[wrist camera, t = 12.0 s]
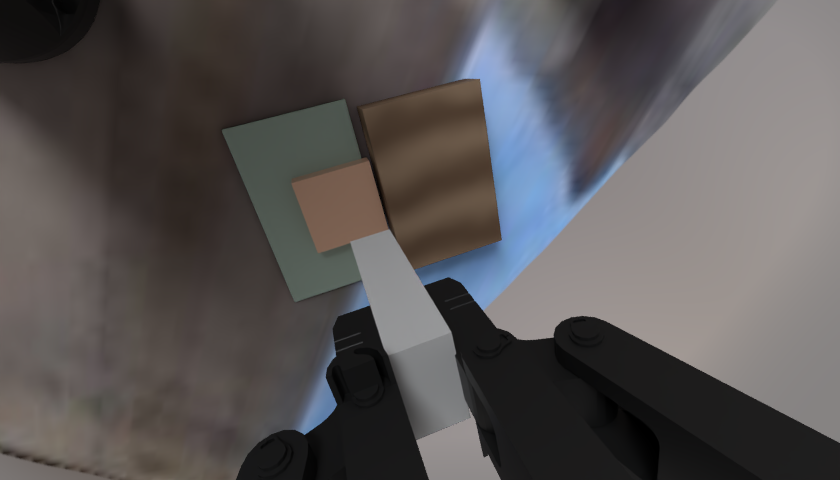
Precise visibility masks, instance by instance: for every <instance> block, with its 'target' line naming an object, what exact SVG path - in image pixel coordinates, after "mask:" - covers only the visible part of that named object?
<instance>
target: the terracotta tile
mask: <svg viewBox="0 0 840 480" xmlns="http://www.w3.org/2000/svg"><path fill="white" fill-rule="evenodd" d="M291 184H292V187H293V189H294V192H295V194H296V197H297V200H298V202H299V205H300V208H301V210H302V213H303V215H304V218H305V221H306V223H307V226H308V229H309V231H310V234H311V236H312V239H313V242H314V244H315V247H316V250H317V252H318V253H321V252H324V251H327V250H330V249H333V248H336V247H339V246H343V245H346V244H349V243H350V241H354V240H357V239H360V238H363V237H366V236H369V235H373V234H376V233H379V232H382V231H385V230H389V229H388V226H387V222H386V219H385V215H384V212H383V208H382V205H381V201H380V197H379V194H378V190H377V187H376V183H375V180H374V176H373V173H372V169H371V166H370V162H369V160H368V159H367V158H366V157H365V158H362V159H358V160H355V161H351V162H348V163H344V164H341V165H337V166H334V167H331V168H327V169H324V170H320V171H317V172H313V173H310V174H306V175H303V176H299V177H296V178H292V180H291Z"/></svg>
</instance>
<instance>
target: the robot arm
mask: <svg viewBox="0 0 840 480" xmlns="http://www.w3.org/2000/svg"><path fill="white" fill-rule="evenodd" d="M99 1H100V0H0V62H3V63H29V62H36V61H42V60H46V59H49V58H52V57H55V56H57V55H59V54H62V53H63V52H65V51H67V50H69V49H70V48H71V47H73V46H74V45H75V44H76V43H78V42H79V41H80V40H81V39H82V38H83V37H84V35H85V34H86V33H87V31H88V30H89V28H90V27H91V25H92V23H93V21H94V19H95V16H96V13H97V10H98V6H99ZM350 243H351V246H352V249H353V253H354V256H355V259H356V262H357V265H358V268H359V272H360V275H361V278H362V281H363V284H364V287H365V291H366V294H367V297H368V300H369V303H370V306H367V307H365V308H362V309H359V310H356V311H353V312H350V313H347V314H344V315H341V316H338V318H337V320H336V322H335V325H334V327H333V336H334V342H335V350H336V357H335V358H334V359H333V360H332V362H331V363H330V365H329V366H328V368H327V373H326V379H327V382H328V384H329V386H330V389H331V391H332V393H333V396H334V398H335V400H336V403H337V406H336V408H335V410H334V411H333V412H332V413H331V415H330V416H329V417H328V418H327V419H326V420H325V421H323V422H322V423H321V424H320V425H318V426H317V427H315V428H314V429H313V430H311V431H310V432H308V433H307V434H305V435H304V434H302V433H300V432H298V431H296V430H283V431H280V432H277V433H274V434H271V435H270V436H268V437H267V438H265V439H264V440H262V441H261V442H259V443H258V444H257V445H256V446H255V447H254V448H253V449H252V450H251V451H250V453H249V454H248V455H247V457H246V459H245V461H244V462H243V464H242V466H241V468H240V471H239V473H238V476H237V479H236V480H429V479H428V476H427V473H426V470H425V467H424V463H423V461H422V457H421V455H420V451H419V448H418V445H417V442H416V440H418V439H420V438H422V437H425V436H427V435H430V434H432V433H435V432H437V431H439V430H442V429H444V428H447V427H449V426H452V425H454V424H457V423H459V422H461V421H464V420H466V419H469V418H470V413H469V408H470V410H471V412H472V414H473V416H474V418H475V420H476V425H477V429H478V434H479V439H480V443H481V448H482V451H483V456H484V457H486V456H488V455H489V456H490V459H491V461H492V463H493V465H494V467H495V469H496V471H497V473H498V475H499V477H500V479H501V480H840V443H838V442H837V441H835V440H833V439H831V438H829V437H827V436H825V435H823V434H821V433H819V432H817V431H816V430H814V429H812V428H810V427H808V426H806V425H804V424H802V423H800V422H798V421H796V420H794V419H792V418H790V417H789V416H787V415H785V414H783V413H781V412H779V411H777V410H775V409H773V408H771V407H769V406H768V405H766V404H764V403H762V402H760V401H758V400H756V399H754V398H752V397H750V396H748V395H746V394H744V393H743V392H741V391H738V390H737V389H735V388H733V387H731V386H729V385H727V384H725V383H723V382H721V381H719V380H717V379H716V378H713V377H712V376H710V375H708V374H706V373H704V372H702V371H700V370H698V369H696V368H694V367H693V366H691V365H689V364H686V363H685V362H683V361H681V360H679V359H677V358H675V357H673V356H671V355H669V354H667V353H666V352H664V351H662V350H660V349H658V348H656V347H654V346H652V345H650V344H648V343H646V342H645V341H642V340H641V339H639V338H637V337H635V336H633V335H631V334H629V333H627V332H625V331H623V330H621V329H620V328H618V327H616V326H614V325H612V324H610V323H608V322H606V321H603V320H600V319H598V318H595V317H587V316H580V317H571V318H569V319H566V320H564V321H562V322H561V323H560V324H559V325H558V326H557V327H556V328H555V332H554V338H547V339H538V340H519V339H516V337H514V336H513V335H512V334H511V333H509V332H507V331H504V330H501V329H497V328H496V327H495V325H494V324H493V323H492V322H491V320H490V319H489V318H488V317H487V315H486V314H485V313H484V311H483V310H482V309H481V308H480V306H479V305H478V304H477V303H476V301H474V299H473V298H472V296H471V295H470V294H469V293H468V291H467V290H466V289H465V287H464V286H463V285H462V284H461V283H460V282H458V281H456V280H453V279H451V278H449V277H448V278H445V279H442V280H439V281H436V282H433V283H431V284H428V285H425V286H423V284H422V282H421V281H420V279H419V277H418V276H417V274H416V272H415V271H414V269H413V267H412V266H411V264H410V262H409V261H408V259H407V257H406V256H405V254H404V252H403V251H402V249H401V247H400V246H399V244H398V242H397V241H396V239H395V238H394V236H393V234H392V233H391V231H390V229H389V230H385V231H382V232H379V233H376V234H373V235H369V236H366V237H363V238H360V239H357V240H354V241H350ZM468 407H469V408H468Z"/></svg>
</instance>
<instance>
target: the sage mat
mask: <svg viewBox="0 0 840 480" xmlns="http://www.w3.org/2000/svg"><path fill="white" fill-rule="evenodd" d="M222 133H223V135H224V137H225V140H226V142H227V144H228V147H229V149H230V151H231V154H232V156H233V159H234V161H235V163H236V166H237V168H238V170H239V173H240V175H241V177H242V180H243V182H244V184H245V187H246V189H247V191H248V194H249V196H250V198H251V201H252V203H253V206H254V208H255V210H256V213H257V215H258V217H259V220H260V222H261V224H262V227H263V229H264V231H265V234H266V236H267V238H268V241H269V243H270V245H271V248H272V250H273V252H274V255H275V257H276V260H277V262H278V264H279V267H280V269H281V271H282V274H283V276H284V278H285V281H286V283H287V285H288V288H289V290H290V292H291V295H292V297H293V299H294V302H297V301H300V300H303V299H306V298H309V297H312V296H315V295H318V294H321V293H324V292H327V291H330V290H333V289H336V288H339V287H342V286H345V285H348V284H351V283H354V282H357V281H360V280H362V278H361V275H360V272H359V268H358V265H357V262H356V259H355V256H354V253H353V249H352V246H351V243H349V244H346V245H343V246H339V247H336V248H333V249H330V250H327V251H324V252H321V253H318V252H317V250H316V247H315V244H314V242H313V239H312V236H311V234H310V231H309V229H308V226H307V223H306V221H305V218H304V215H303V213H302V210H301V208H300V205H299V202H298V200H297V197H296V194H295V192H294V189H293V187H292V184H291V180H292V178H296V177H299V176H303V175H306V174H310V173H313V172H317V171H320V170H324V169H327V168H331V167H334V166H337V165H341V164H344V163H348V162H351V161H355V160H358V159H362V158H361V155H360V151H359V148H358V144H357V141H356V137H355V133H354V130H353V126H352V123H351V119H350V116H349V112H348V109H347V105H346V101H345V99H342V100H338V101H334V102H330V103H326V104H322V105H318V106H314V107H310V108H306V109H302V110H298V111H294V112H290V113H286V114H282V115H278V116H274V117H270V118H266V119H262V120H259V121H255V122H251V123H247V124H243V125H239V126H235V127H231V128H227V129H223V130H222Z"/></svg>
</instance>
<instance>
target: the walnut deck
mask: <svg viewBox="0 0 840 480" xmlns="http://www.w3.org/2000/svg"><path fill="white" fill-rule="evenodd" d="M357 110H358V114H359V117H360V121H361V125H362V128H363V132H364V136H365V140H366V143H367V147H368V151H369V154H370V158H371V162H372V165H373V169H374V173H375V176H376V180H377V184H378V187H379V191H380V195H381V198H382V202H383V206H384V210H385V213H386V217H387V221H388V224H389V228H390V231H391V233H392V234H393V236H394V238H395V239H396V241H397V242H398V244H399V246H400V247H401V249H402V251H403V252H404V254H405V256H406V257H407V259H408V261H409V262H410V264H411V266H412V267H413V269H417V268H420V267H423V266H426V265H429V264H432V263H435V262H438V261H441V260H444V259H447V258H450V257H453V256H456V255H459V254H462V253H465V252H468V251H471V250H474V249H477V248H480V247H483V246H486V245H489V244H492V243H495V242H498V241H501V240H502V238H501V231H500V223H499V216H498V209H497V201H496V194H495V187H494V179H493V172H492V165H491V157H490V150H489V143H488V135H487V128H486V121H485V113H484V106H483V99H482V91H481V84H480V79H462V80H458V81H455V82H451V83H447V84H443V85H439V86H435V87H431V88H427V89H423V90H419V91H416V92H412V93H408V94H404V95H400V96H396V97H392V98H388V99H384V100H380V101H377V102H373V103H369V104H365V105H361V106H357Z"/></svg>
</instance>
